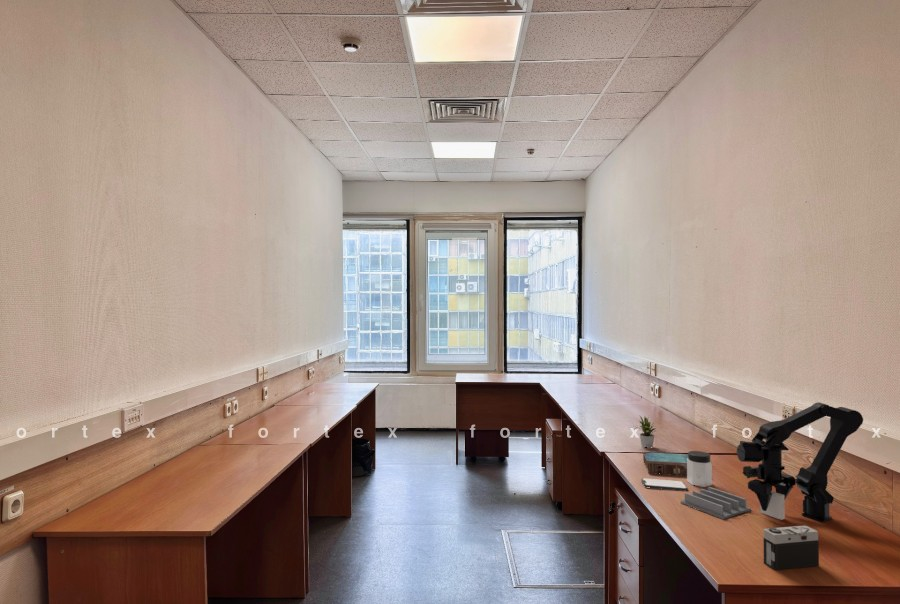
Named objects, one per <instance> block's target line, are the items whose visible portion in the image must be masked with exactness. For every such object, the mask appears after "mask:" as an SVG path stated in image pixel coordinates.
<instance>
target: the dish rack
mask: <svg viewBox="0 0 900 604" xmlns="http://www.w3.org/2000/svg"><path fill="white" fill-rule="evenodd" d="M699 490H700V491H699V492H698V491H696V490H692V494H691V493H687V492H685V493H684V500H680V504H681V503H683V504H682V505H684V504H686V505H688V506H687V507H689V506H691V507H690V508H692V507H694V508H696V509H695V510H697V509H699V510H701V511H700V512H702V511H703V512H702V513H705V512H706V513H705V514H707V513H709V514H708V515H710V514H711V515H710V516H712V515H714V516H713V517H715V516H716V517H715V518H718V517H719V518H718V519H720V518H721V520H726V519H729V518H731V517H734V516H735V517H736V516H738V515H741V514H744V513H747V512H750V511H752V508H751V507H749V506H747V498H746V497H745V498H744V497H741V496H739V495H735V494H732V493H729V492H726V491H723V490H721V489H718V488H714V487H711V486H707V489H704V488H700V489H699ZM686 505H685V506H686ZM694 508H693V509H694ZM699 510H698V511H699Z"/></svg>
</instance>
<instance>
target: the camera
mask: <svg viewBox="0 0 900 604" xmlns="http://www.w3.org/2000/svg"><path fill="white" fill-rule="evenodd" d="M762 534H763V537H762V538H763V564H764V565H765V566H767V567H768V568H770V569H772V570H773V571H779V570H789V569H791V570H792V569H800V568H801V569H802V568H811V567H812V568H813V567H819V565H820V555H819V554H820V552H819V551H820V550H819V546H820V545H819V543H820V542H819V531H817V530H816V529H814V528H812V527H810V526H807V525H796V526H794V525H793V526H783V527H782V526H781V527H769V528H763V533H762Z"/></svg>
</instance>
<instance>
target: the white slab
mask: <svg viewBox="0 0 900 604" xmlns="http://www.w3.org/2000/svg"><path fill="white" fill-rule="evenodd" d="M771 493H772V497H771V499H770V502H769V505H768V508H767V510H766V511H763V510H762V507H761V505H760V504H759V513H760V514H763V515H765V516H769V517H772V518H775V519H778V520H781V521H782V520H785V515H786V514H785V501H786V500H785V501H784V495H783V494H780V493H776V491H773V490H772V491H771Z"/></svg>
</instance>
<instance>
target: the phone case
mask: <svg viewBox="0 0 900 604" xmlns="http://www.w3.org/2000/svg"><path fill="white" fill-rule="evenodd" d="M642 482H643V483H642ZM641 483H642V485H643V484H644V485H643V487H644V486H645V487H650V488H662V489H661V490H663V489H676V490H675V491H679V490H689V488H688V487H687V485H686V484H685V483H684V482H683V481H681V480H670V479H669V480H668V479H656V478H647V477H646V478H644V477H643V478H641ZM645 487H644V488H645Z"/></svg>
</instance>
